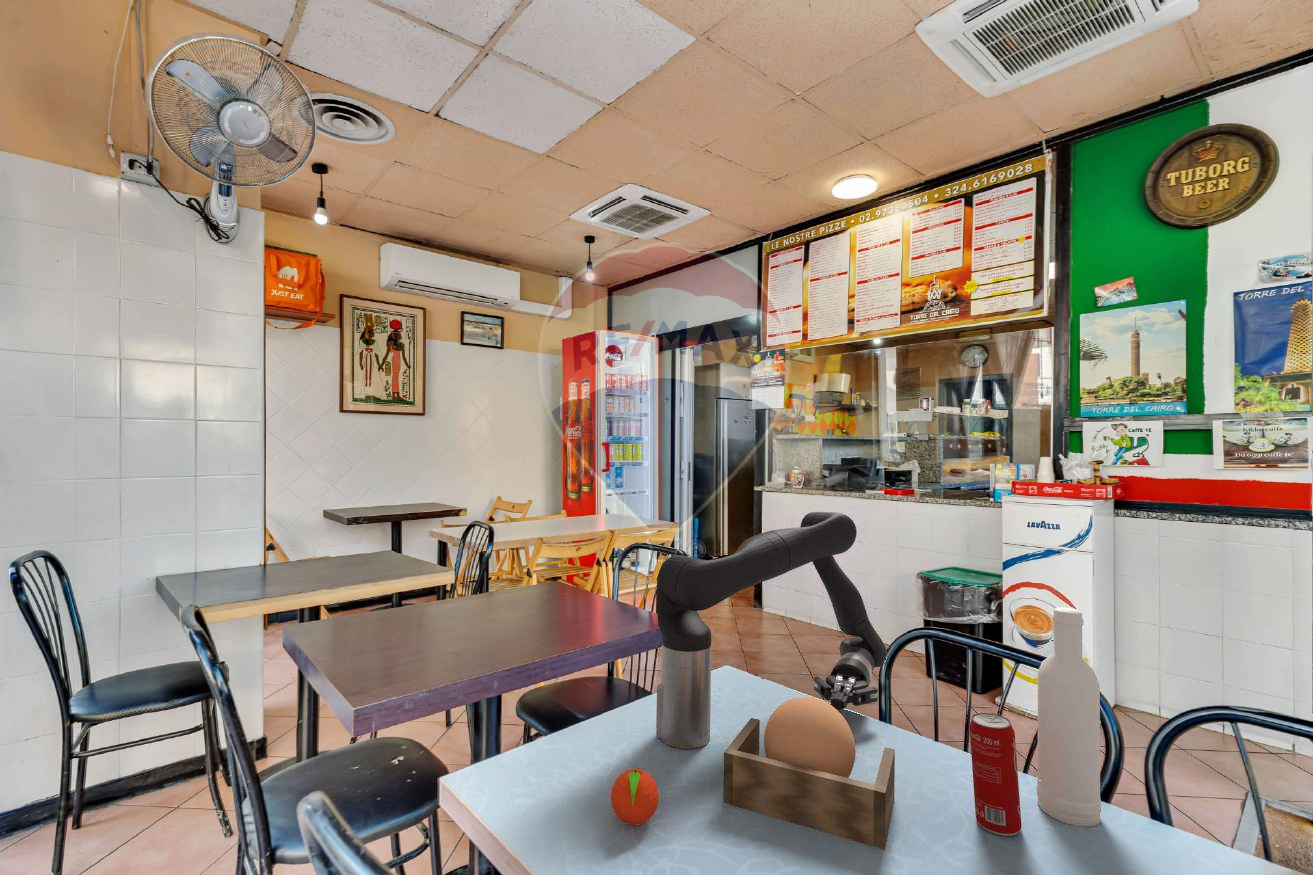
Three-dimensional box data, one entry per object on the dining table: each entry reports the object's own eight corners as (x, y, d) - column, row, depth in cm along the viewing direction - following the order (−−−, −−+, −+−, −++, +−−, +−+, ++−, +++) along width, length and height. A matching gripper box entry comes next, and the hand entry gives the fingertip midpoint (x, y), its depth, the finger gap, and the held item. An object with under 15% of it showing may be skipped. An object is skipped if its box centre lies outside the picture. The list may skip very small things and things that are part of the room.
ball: (783, 760, 104) (760, 809, 92) (770, 680, 104) (746, 718, 92) (867, 768, 98) (855, 823, 85) (854, 683, 98) (840, 725, 85)
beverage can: (1028, 841, 83) (1028, 731, 83) (977, 834, 84) (977, 726, 84) (1011, 815, 89) (1011, 713, 89) (964, 809, 90) (964, 708, 90)
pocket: (723, 802, 91) (723, 752, 91) (750, 762, 103) (751, 717, 103) (885, 849, 80) (885, 792, 81) (894, 798, 92) (894, 749, 93)
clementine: (658, 842, 81) (658, 788, 82) (607, 840, 81) (607, 787, 82) (658, 807, 89) (659, 758, 90) (612, 805, 89) (613, 757, 90)
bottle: (1042, 819, 88) (1042, 613, 89) (1031, 791, 95) (1031, 601, 96) (1108, 833, 85) (1107, 619, 85) (1092, 803, 92) (1092, 606, 93)
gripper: (820, 652, 131) (801, 678, 115) (884, 662, 125) (874, 691, 109) (820, 686, 131) (801, 717, 115) (884, 698, 125) (874, 733, 109)
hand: (837, 704), depth 112 cm, fingers closed
